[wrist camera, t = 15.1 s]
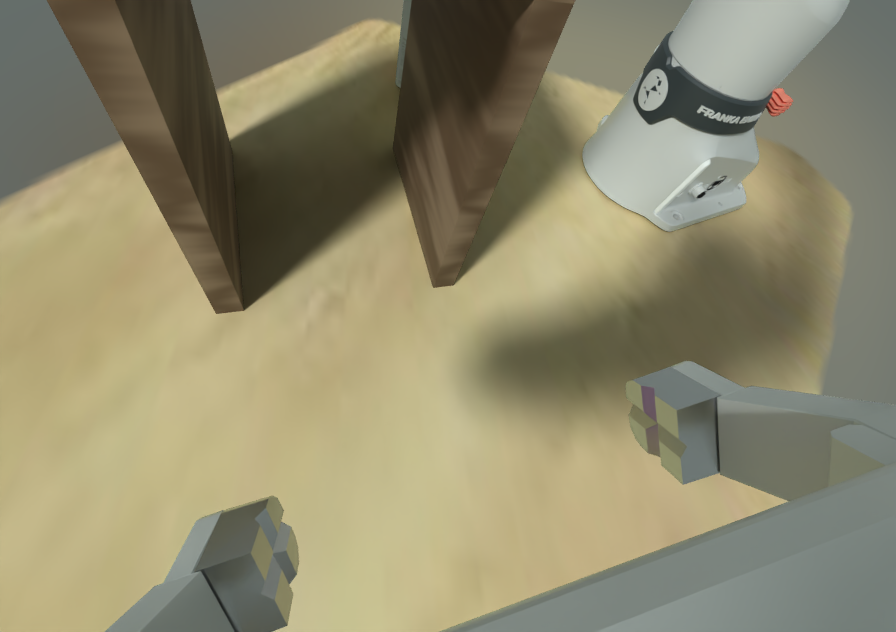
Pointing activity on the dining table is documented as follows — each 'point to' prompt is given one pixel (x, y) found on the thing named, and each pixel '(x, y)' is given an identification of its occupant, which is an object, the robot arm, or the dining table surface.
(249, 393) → the dining table surface
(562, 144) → the dining table surface
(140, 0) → the stand
